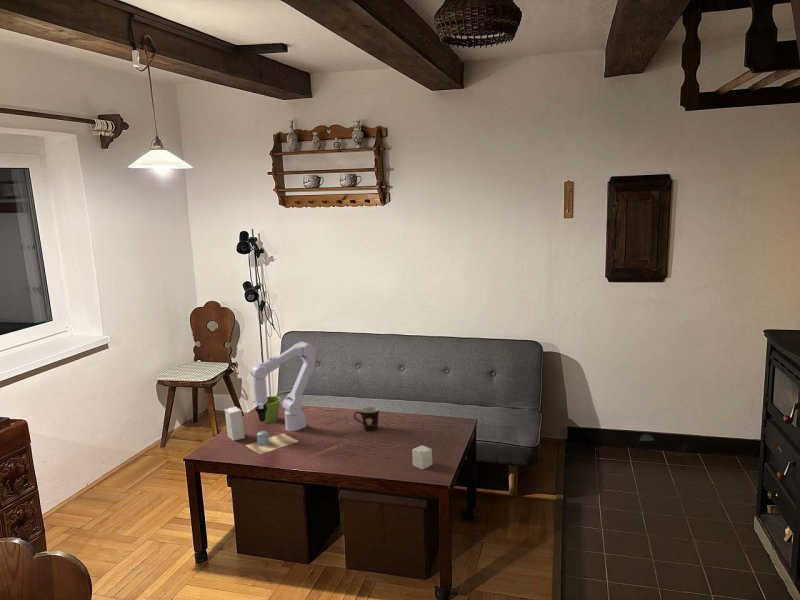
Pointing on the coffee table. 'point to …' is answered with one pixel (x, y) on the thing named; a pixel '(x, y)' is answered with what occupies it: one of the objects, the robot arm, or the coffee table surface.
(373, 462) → the coffee table surface
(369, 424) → the coffee mug
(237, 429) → the skincare box
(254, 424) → the coffee table surface
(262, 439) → the cap
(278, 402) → the plant pot
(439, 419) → the coffee table surface
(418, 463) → the skincare box
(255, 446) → the board
